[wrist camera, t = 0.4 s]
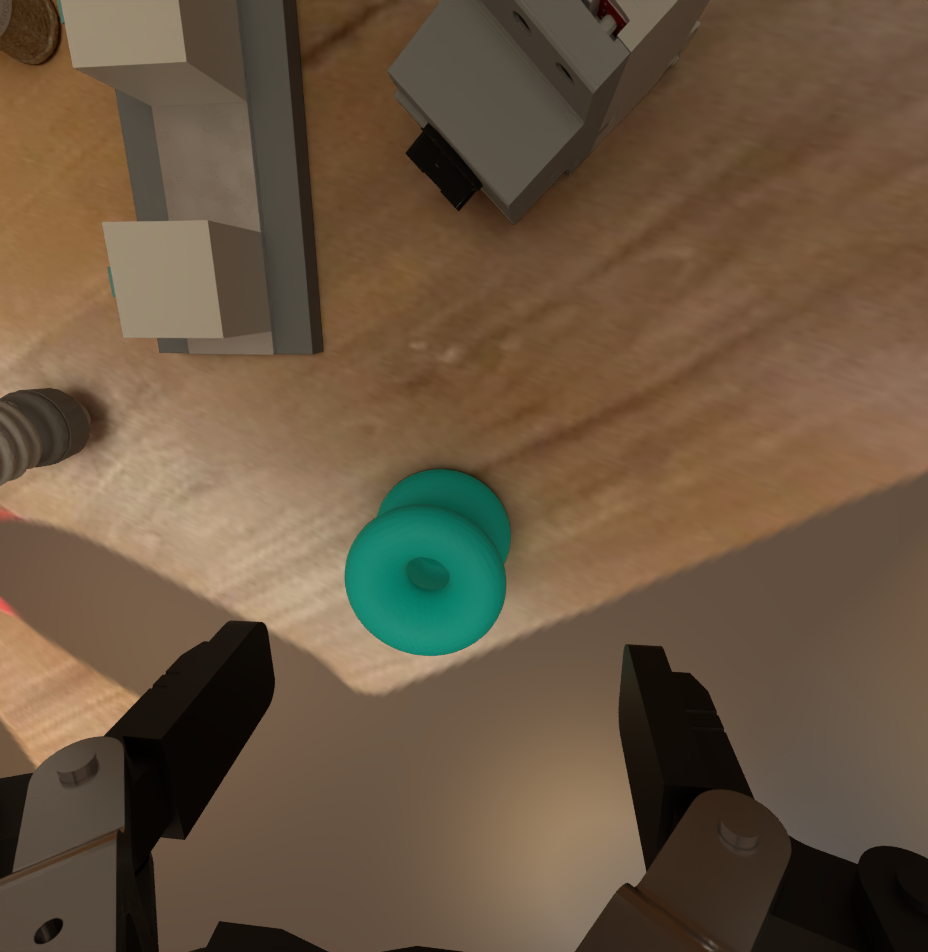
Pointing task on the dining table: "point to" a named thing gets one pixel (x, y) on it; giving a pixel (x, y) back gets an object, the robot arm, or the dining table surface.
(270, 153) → the mounting board
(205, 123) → the din rail
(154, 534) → the dining table surface
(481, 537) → the donuts
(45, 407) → the light bulb
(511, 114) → the circuit breaker
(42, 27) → the sprinkles bottle
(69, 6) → the mounted modules
